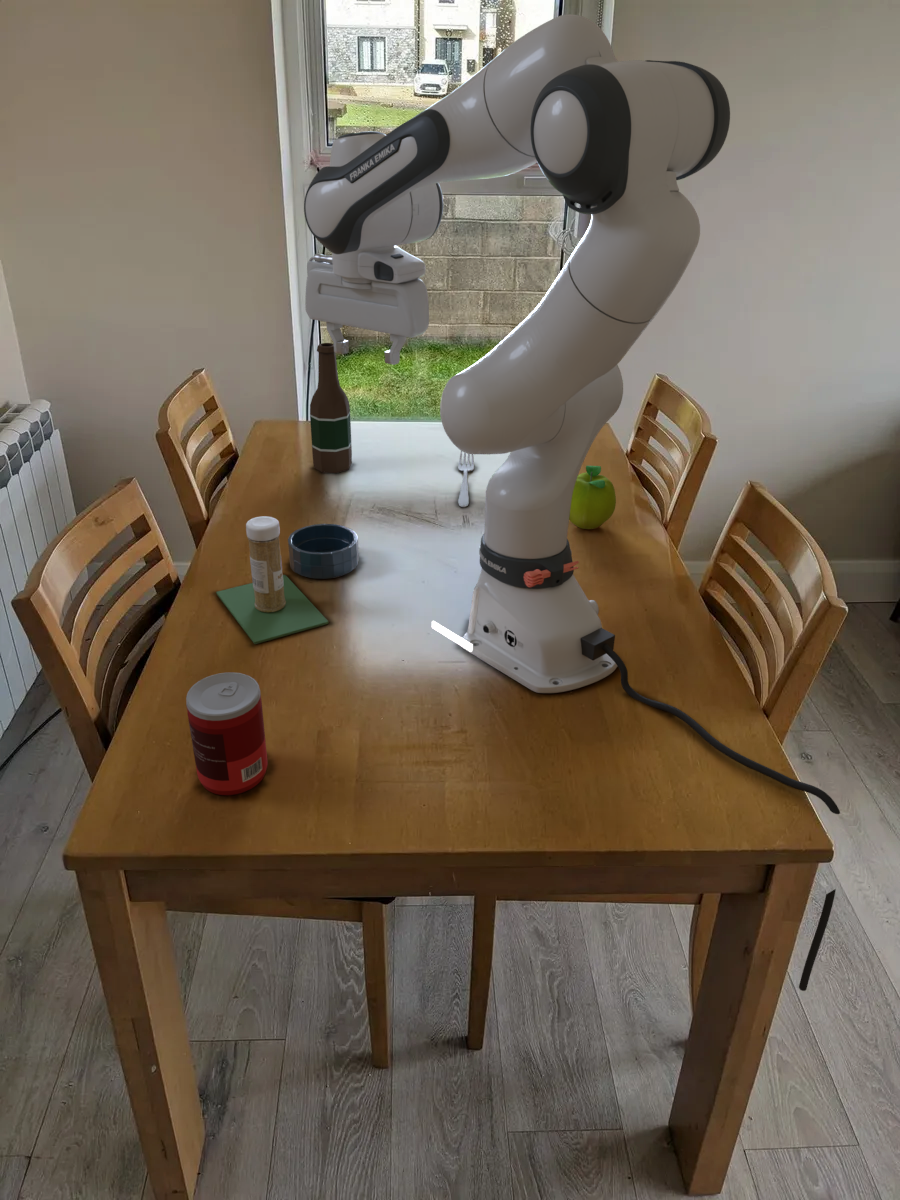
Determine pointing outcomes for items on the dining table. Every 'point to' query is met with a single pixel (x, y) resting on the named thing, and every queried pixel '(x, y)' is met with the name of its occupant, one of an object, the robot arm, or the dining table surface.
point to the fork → (465, 480)
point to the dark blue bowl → (323, 551)
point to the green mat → (272, 624)
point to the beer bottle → (330, 417)
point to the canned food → (227, 732)
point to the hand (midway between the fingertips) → (366, 358)
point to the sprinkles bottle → (266, 563)
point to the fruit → (592, 499)
